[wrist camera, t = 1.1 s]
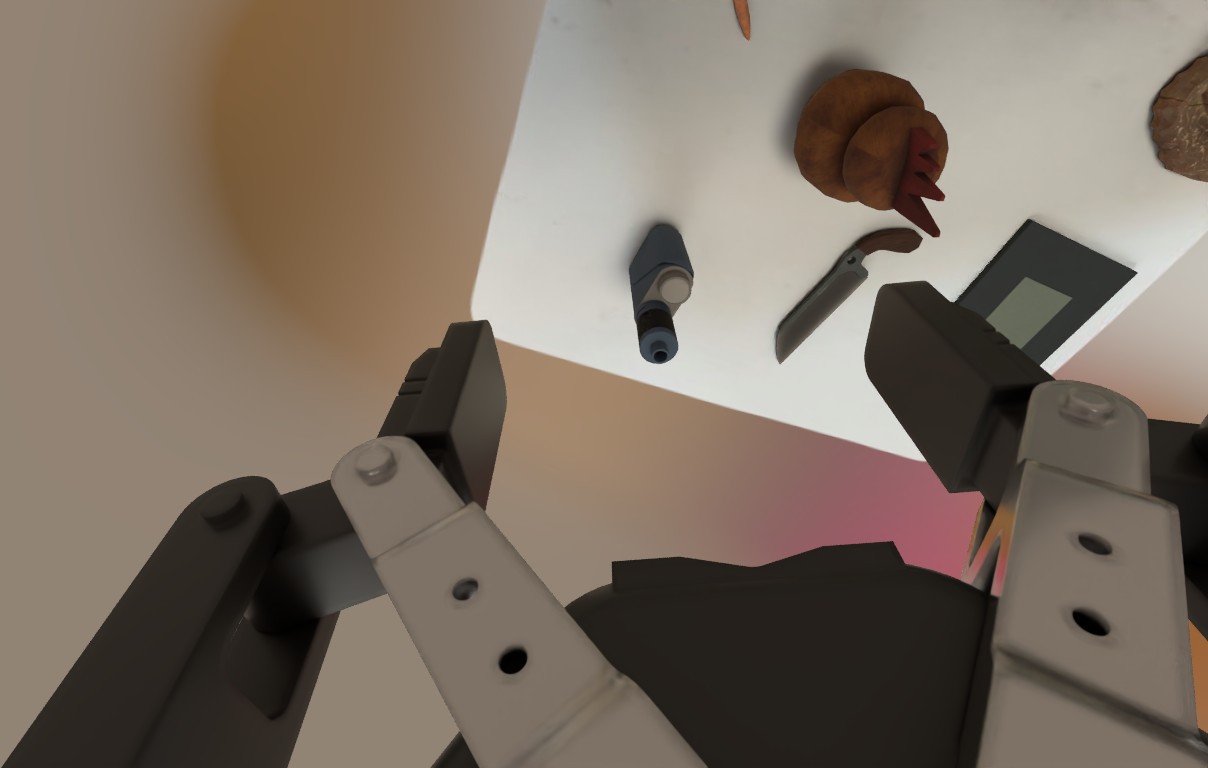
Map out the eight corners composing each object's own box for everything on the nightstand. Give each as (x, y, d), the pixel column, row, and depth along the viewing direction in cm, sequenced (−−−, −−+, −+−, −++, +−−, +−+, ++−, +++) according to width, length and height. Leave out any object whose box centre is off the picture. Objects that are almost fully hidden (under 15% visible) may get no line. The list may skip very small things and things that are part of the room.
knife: (887, 208, 40) (891, 211, 39) (923, 237, 41) (927, 240, 40) (754, 347, 46) (756, 351, 46) (789, 367, 48) (791, 372, 47)
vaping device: (622, 275, 42) (630, 364, 33) (657, 215, 40) (677, 293, 30) (651, 289, 43) (667, 379, 34) (687, 231, 40) (716, 312, 31)
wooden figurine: (841, 184, 39) (954, 279, 27) (767, 159, 37) (850, 246, 25) (899, 80, 35) (1062, 135, 23) (819, 48, 34) (945, 89, 22)
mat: (1028, 218, 40) (1033, 221, 40) (1133, 270, 43) (1138, 273, 42) (899, 365, 48) (902, 368, 48) (995, 401, 51) (999, 404, 50)
